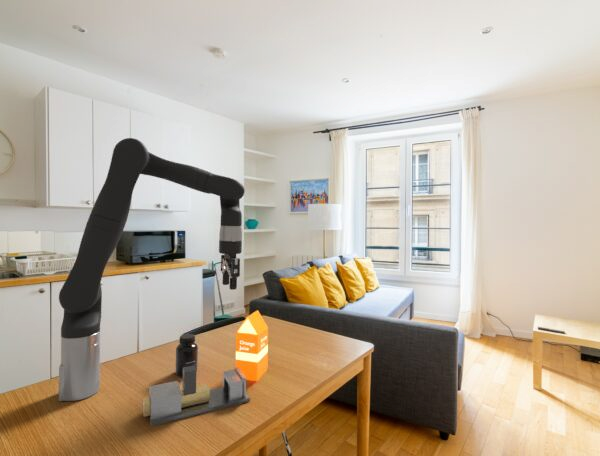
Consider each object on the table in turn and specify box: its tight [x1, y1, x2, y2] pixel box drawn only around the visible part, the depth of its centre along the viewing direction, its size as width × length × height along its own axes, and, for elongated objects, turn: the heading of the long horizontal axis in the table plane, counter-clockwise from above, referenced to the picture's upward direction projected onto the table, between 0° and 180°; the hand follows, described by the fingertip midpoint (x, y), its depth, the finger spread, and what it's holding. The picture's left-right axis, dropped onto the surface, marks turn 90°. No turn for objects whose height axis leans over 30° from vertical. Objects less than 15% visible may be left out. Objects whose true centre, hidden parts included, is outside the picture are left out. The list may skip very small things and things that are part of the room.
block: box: [142, 366, 211, 418], centre depth 84 cm, size 16×4×9 cm, turn 118°
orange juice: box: [235, 309, 269, 382], centre depth 105 cm, size 8×9×20 cm
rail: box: [148, 366, 251, 427], centre depth 87 cm, size 25×9×6 cm, turn 118°
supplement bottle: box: [174, 333, 199, 378], centre depth 105 cm, size 7×7×12 cm
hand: (229, 286), depth 109 cm, fingers open, 8 cm apart
